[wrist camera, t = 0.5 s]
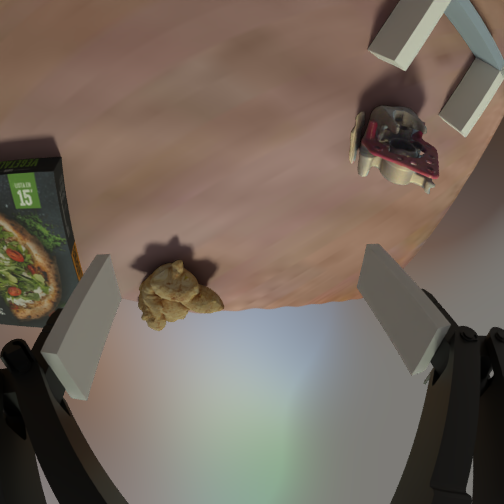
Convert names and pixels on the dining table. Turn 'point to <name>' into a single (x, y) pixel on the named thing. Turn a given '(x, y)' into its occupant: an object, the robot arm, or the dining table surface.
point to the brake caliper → (395, 147)
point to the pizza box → (35, 242)
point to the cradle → (475, 35)
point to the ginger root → (174, 296)
